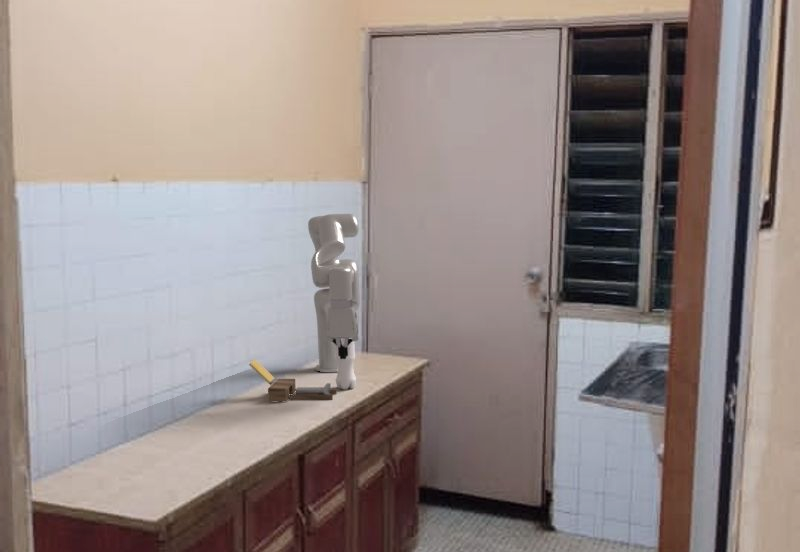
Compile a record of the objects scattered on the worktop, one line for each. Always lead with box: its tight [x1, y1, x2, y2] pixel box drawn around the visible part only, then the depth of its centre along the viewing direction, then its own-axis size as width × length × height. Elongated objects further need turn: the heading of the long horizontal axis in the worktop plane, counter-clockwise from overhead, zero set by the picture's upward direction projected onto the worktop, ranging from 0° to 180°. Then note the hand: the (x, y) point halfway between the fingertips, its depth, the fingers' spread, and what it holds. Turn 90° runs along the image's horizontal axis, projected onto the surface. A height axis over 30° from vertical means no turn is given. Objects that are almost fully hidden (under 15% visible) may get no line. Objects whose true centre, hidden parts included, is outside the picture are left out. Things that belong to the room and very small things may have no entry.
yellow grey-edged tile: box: [248, 359, 278, 386], centre depth 291 cm, size 6×10×1 cm
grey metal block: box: [295, 383, 332, 395], centre depth 290 cm, size 11×6×4 cm, turn 84°
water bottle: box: [335, 338, 357, 391], centre depth 299 cm, size 7×7×25 cm
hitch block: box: [267, 378, 337, 402], centre depth 290 cm, size 14×21×5 cm, turn 84°
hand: (343, 358), depth 287 cm, fingers closed
